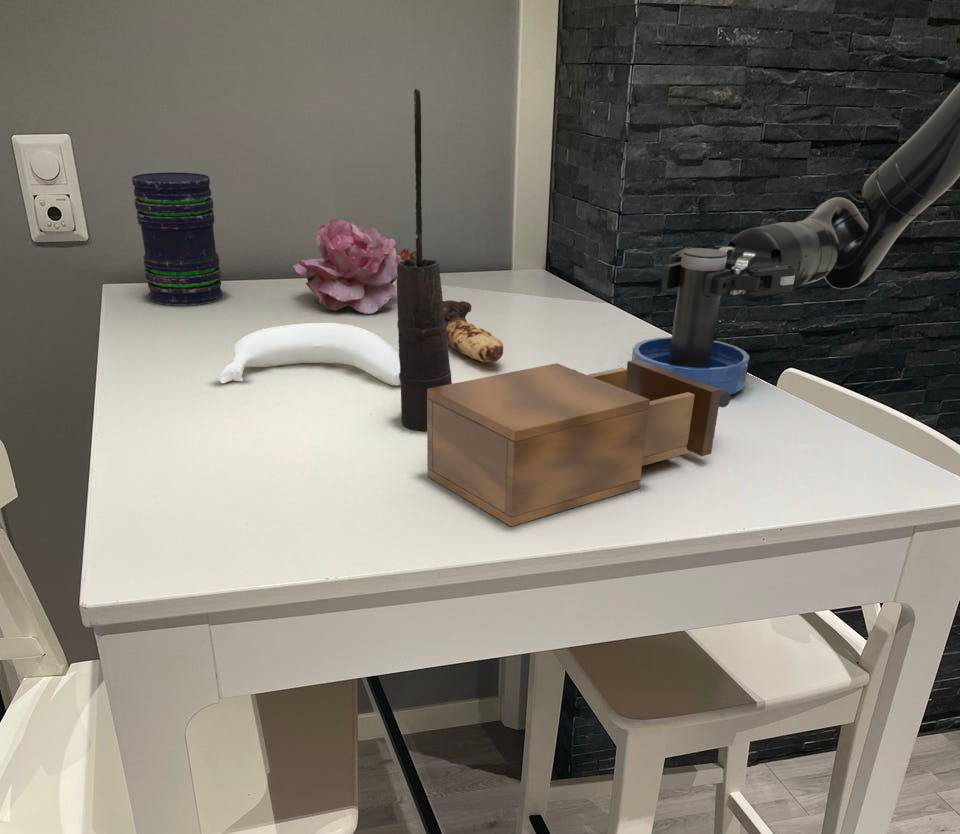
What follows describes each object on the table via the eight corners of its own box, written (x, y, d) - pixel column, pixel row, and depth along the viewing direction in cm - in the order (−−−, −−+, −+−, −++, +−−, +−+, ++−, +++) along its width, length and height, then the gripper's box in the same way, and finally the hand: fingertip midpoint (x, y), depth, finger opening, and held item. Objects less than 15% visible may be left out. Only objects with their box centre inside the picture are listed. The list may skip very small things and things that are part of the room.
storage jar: (195, 285, 139) (181, 170, 131) (238, 297, 133) (226, 178, 125) (134, 296, 132) (115, 176, 124) (176, 309, 127) (159, 184, 119)
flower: (270, 276, 132) (283, 203, 126) (360, 278, 141) (376, 210, 135) (325, 331, 125) (342, 256, 118) (416, 330, 134) (436, 260, 128)
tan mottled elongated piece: (391, 339, 119) (442, 379, 105) (389, 300, 116) (441, 335, 102) (462, 331, 122) (521, 368, 108) (461, 292, 119) (521, 325, 105)
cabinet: (551, 445, 89) (556, 362, 85) (639, 488, 81) (650, 399, 77) (427, 476, 82) (426, 388, 78) (510, 526, 74) (515, 431, 70)
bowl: (767, 390, 104) (773, 357, 102) (688, 410, 98) (693, 376, 96) (684, 362, 113) (688, 331, 111) (606, 378, 106) (609, 346, 104)
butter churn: (389, 399, 99) (380, 82, 84) (481, 407, 97) (489, 86, 82) (364, 430, 91) (351, 87, 76) (464, 438, 90) (470, 91, 75)
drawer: (660, 412, 95) (668, 352, 92) (742, 444, 88) (753, 381, 85) (527, 445, 86) (530, 380, 83) (606, 484, 79) (613, 415, 76)
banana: (426, 375, 106) (346, 413, 95) (290, 355, 114) (202, 388, 103) (424, 329, 103) (342, 363, 92) (285, 312, 111) (194, 341, 100)
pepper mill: (716, 381, 105) (736, 253, 98) (687, 388, 102) (706, 258, 95) (686, 370, 108) (703, 246, 101) (657, 377, 105) (673, 250, 98)
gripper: (722, 215, 110) (632, 231, 100) (839, 233, 102) (755, 253, 92) (712, 284, 114) (625, 306, 104) (824, 306, 106) (741, 334, 96)
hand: (686, 281), depth 98 cm, fingers closed on pepper mill, 4 cm apart
